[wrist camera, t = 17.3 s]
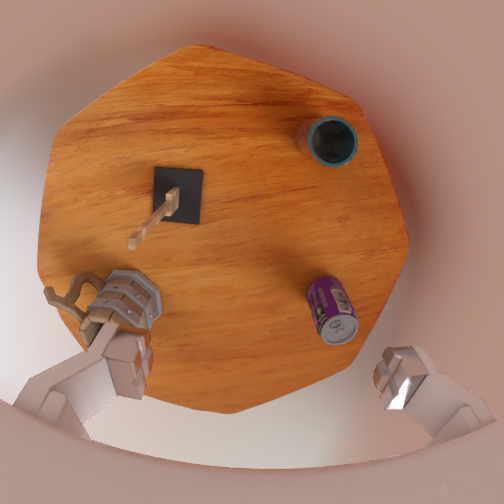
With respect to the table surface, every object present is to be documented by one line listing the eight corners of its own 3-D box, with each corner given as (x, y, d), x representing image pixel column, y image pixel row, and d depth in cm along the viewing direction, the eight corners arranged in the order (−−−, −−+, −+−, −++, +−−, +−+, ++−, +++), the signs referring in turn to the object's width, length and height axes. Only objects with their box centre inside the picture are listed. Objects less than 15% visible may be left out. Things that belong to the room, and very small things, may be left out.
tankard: (173, 299, 54) (153, 352, 41) (139, 331, 58) (117, 382, 44) (96, 230, 48) (53, 266, 35) (70, 271, 52) (31, 311, 38)
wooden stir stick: (174, 186, 45) (126, 227, 27) (179, 187, 45) (134, 228, 27) (173, 206, 46) (128, 258, 28) (178, 207, 46) (136, 259, 28)
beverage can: (299, 287, 53) (310, 327, 42) (331, 268, 52) (351, 304, 41) (316, 312, 56) (329, 353, 45) (347, 294, 54) (367, 333, 43)
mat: (155, 167, 44) (154, 167, 43) (203, 170, 44) (202, 171, 44) (153, 219, 48) (152, 220, 47) (199, 223, 48) (198, 224, 48)
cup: (298, 115, 41) (312, 111, 32) (338, 123, 41) (361, 122, 32) (292, 155, 44) (304, 162, 34) (332, 162, 44) (353, 171, 35)
